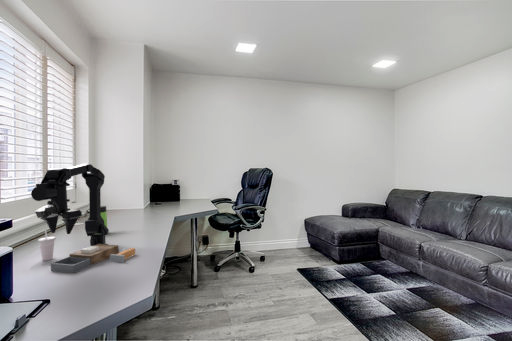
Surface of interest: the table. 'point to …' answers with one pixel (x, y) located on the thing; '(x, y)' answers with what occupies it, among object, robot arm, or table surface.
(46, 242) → the smoothie
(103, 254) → the tan block
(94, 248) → the tile
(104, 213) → the tumbler
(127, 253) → the scraper
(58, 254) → the table surface
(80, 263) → the box
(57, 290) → the table surface
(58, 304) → the table surface
